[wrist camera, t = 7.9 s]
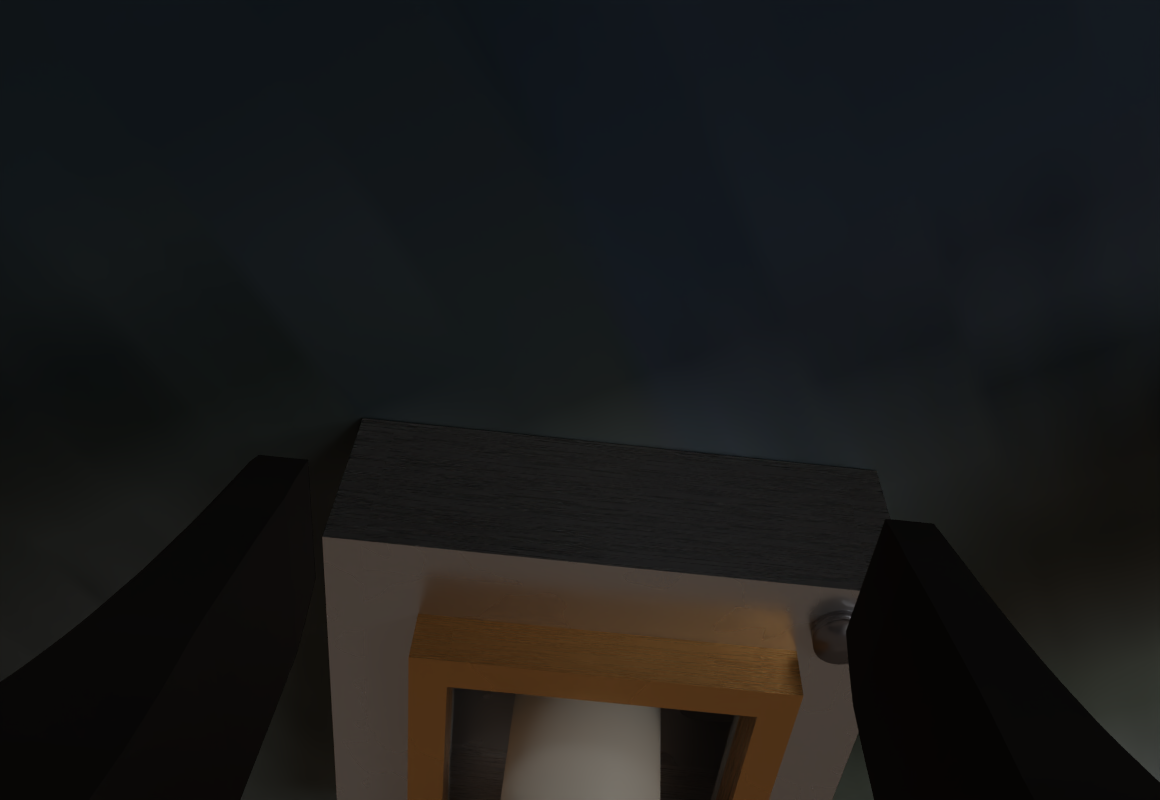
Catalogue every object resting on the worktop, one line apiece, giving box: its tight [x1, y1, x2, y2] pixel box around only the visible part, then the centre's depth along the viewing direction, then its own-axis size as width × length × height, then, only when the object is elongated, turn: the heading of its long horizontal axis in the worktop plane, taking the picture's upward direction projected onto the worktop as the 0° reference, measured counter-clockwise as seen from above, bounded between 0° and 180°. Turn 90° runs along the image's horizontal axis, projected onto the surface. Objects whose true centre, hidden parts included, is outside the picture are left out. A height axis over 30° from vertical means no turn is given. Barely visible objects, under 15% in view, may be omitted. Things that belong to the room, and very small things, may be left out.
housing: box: [322, 418, 890, 800], centre depth 27 cm, size 12×12×5 cm
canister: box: [500, 694, 661, 800], centre depth 26 cm, size 4×4×7 cm
